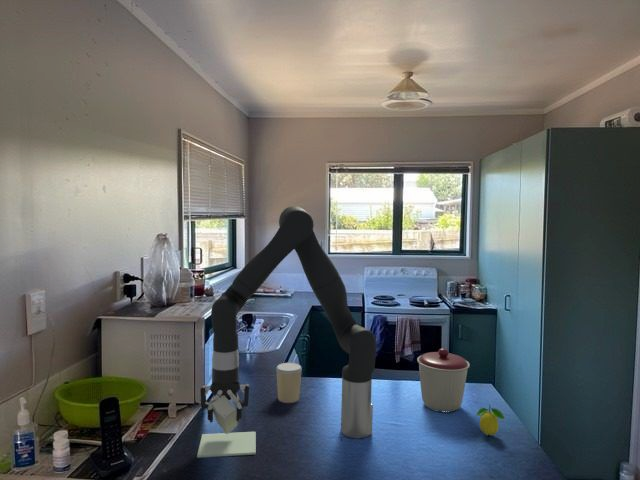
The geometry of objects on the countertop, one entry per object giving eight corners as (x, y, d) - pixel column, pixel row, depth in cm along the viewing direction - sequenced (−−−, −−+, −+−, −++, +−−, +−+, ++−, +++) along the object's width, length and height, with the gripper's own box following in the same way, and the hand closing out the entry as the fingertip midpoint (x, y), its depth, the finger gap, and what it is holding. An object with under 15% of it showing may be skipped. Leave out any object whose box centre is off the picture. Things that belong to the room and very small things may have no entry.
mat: (255, 433, 136) (255, 431, 136) (255, 454, 124) (255, 452, 124) (202, 436, 134) (202, 434, 134) (197, 457, 122) (197, 455, 122)
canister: (405, 404, 159) (407, 347, 158) (434, 392, 171) (436, 338, 170) (449, 423, 146) (451, 360, 145) (477, 408, 158) (480, 350, 156)
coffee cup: (297, 392, 168) (297, 361, 168) (304, 402, 160) (304, 369, 159) (273, 395, 165) (273, 363, 165) (279, 405, 157) (279, 372, 156)
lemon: (503, 440, 135) (505, 408, 134) (485, 441, 134) (487, 409, 133) (492, 430, 141) (493, 399, 141) (474, 431, 140) (476, 400, 140)
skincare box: (238, 425, 133) (237, 409, 124) (226, 435, 131) (224, 420, 122) (225, 409, 136) (224, 393, 127) (213, 419, 134) (210, 403, 125)
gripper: (198, 369, 123) (197, 428, 124) (250, 368, 125) (249, 425, 126) (201, 361, 130) (200, 416, 131) (250, 359, 132) (250, 413, 133)
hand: (224, 420), depth 128 cm, fingers closed on skincare box, 7 cm apart
